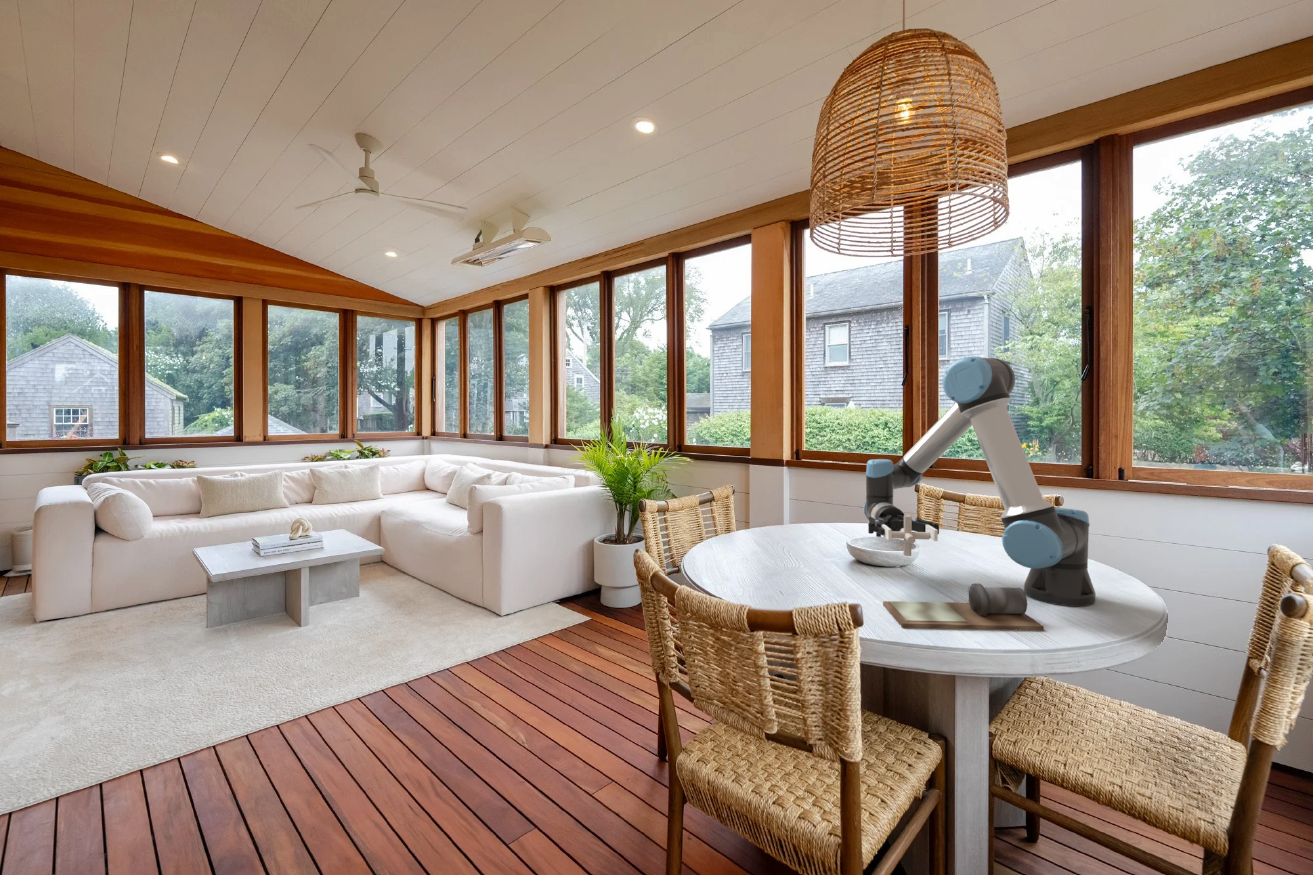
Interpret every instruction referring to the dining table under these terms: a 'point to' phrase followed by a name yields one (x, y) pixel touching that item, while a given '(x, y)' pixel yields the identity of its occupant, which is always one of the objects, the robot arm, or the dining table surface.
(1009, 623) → the fitting board
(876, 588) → the dining table surface
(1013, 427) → the robot arm
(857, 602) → the dining table surface
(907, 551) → the pipe connector
